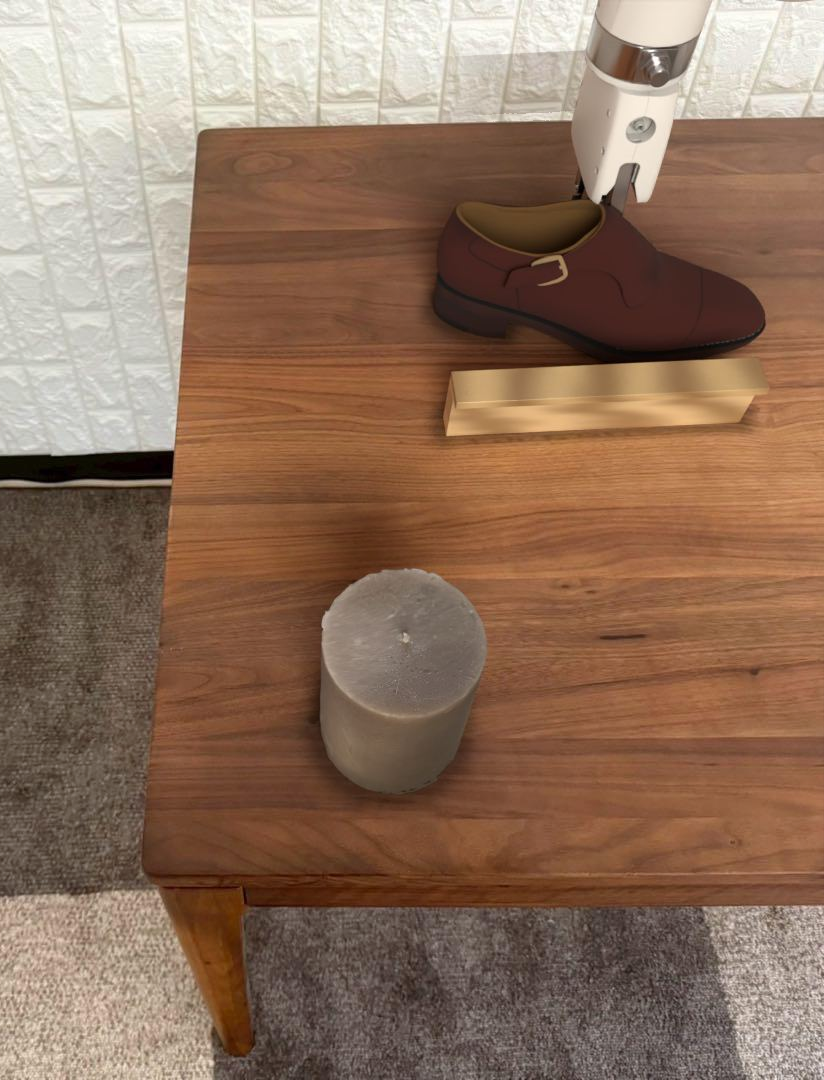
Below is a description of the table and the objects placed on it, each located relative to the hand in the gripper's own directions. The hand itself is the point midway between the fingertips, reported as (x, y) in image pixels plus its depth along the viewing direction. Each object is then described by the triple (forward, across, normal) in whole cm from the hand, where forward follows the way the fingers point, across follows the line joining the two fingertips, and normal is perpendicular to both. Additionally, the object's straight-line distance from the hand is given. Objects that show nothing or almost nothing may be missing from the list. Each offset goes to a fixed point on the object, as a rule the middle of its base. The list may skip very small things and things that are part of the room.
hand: (582, 237), depth 89 cm
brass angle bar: (+4, -17, +2) cm, 18 cm away
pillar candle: (+4, -43, +21) cm, 48 cm away
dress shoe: (+4, -7, 0) cm, 8 cm away
